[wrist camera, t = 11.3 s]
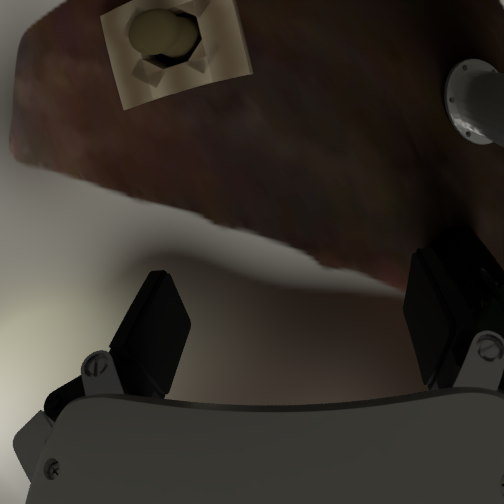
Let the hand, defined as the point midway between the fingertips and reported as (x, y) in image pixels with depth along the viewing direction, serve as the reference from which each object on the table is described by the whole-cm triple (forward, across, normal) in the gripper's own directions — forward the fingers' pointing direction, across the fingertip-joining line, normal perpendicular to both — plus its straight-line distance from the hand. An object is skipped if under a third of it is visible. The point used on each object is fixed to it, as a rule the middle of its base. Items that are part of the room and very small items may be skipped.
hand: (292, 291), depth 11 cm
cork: (+30, +11, -15) cm, 35 cm away
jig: (+30, +12, -15) cm, 35 cm away
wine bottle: (+30, -25, +21) cm, 45 cm away
